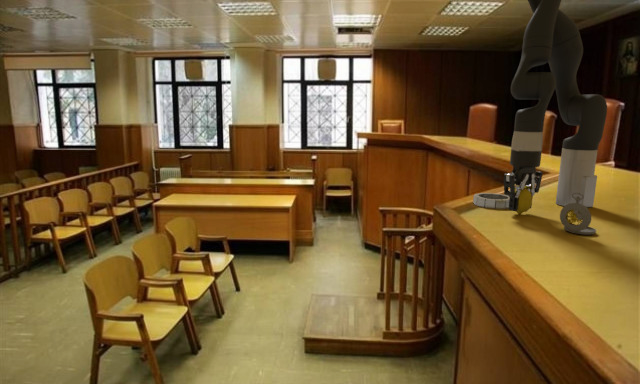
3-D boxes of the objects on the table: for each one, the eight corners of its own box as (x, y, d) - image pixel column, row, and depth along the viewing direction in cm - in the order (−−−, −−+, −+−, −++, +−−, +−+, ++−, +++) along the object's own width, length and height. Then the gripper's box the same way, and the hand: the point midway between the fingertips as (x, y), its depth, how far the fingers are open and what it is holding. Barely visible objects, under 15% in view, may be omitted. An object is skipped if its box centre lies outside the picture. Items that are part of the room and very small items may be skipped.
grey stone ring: (519, 206, 132) (520, 198, 131) (496, 210, 126) (496, 201, 126) (489, 199, 141) (490, 191, 140) (465, 202, 135) (466, 194, 135)
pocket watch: (591, 230, 107) (597, 189, 105) (601, 239, 99) (607, 196, 97) (554, 226, 109) (559, 187, 107) (560, 235, 102) (565, 193, 100)
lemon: (529, 217, 118) (532, 188, 116) (507, 215, 120) (510, 186, 119) (531, 213, 122) (534, 185, 121) (510, 211, 125) (513, 183, 124)
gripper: (530, 146, 125) (523, 204, 128) (497, 148, 117) (491, 209, 121) (555, 148, 118) (548, 209, 122) (522, 150, 111) (515, 215, 114)
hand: (519, 209), depth 121 cm, fingers closed on lemon, 5 cm apart
